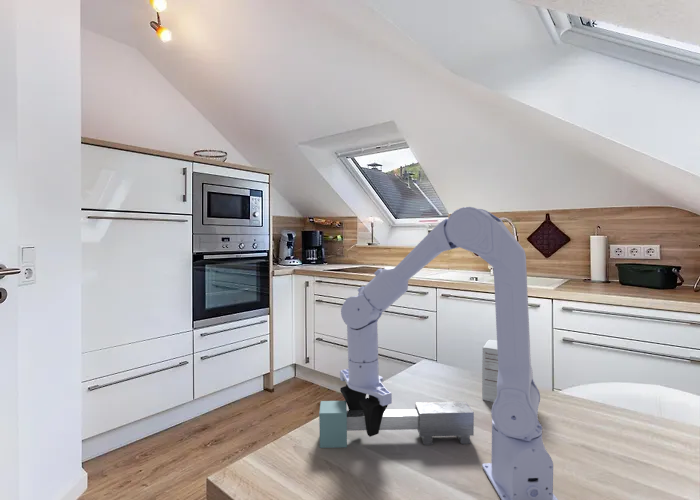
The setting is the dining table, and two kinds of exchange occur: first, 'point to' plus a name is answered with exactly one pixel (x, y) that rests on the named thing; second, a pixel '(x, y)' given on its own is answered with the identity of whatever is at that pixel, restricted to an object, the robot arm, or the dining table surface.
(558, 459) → the dining table surface
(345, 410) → the socket
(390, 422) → the extension bar
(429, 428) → the sleeve
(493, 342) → the supplement box
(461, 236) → the robot arm
